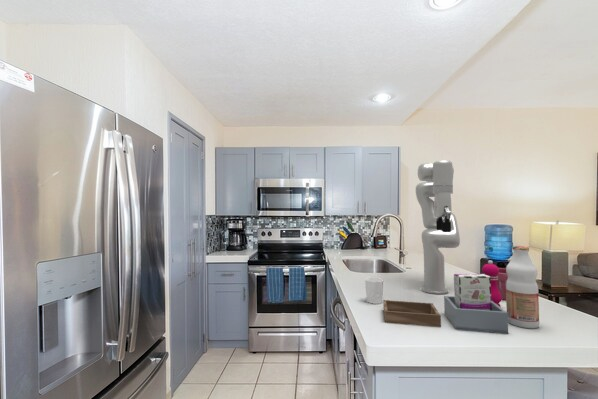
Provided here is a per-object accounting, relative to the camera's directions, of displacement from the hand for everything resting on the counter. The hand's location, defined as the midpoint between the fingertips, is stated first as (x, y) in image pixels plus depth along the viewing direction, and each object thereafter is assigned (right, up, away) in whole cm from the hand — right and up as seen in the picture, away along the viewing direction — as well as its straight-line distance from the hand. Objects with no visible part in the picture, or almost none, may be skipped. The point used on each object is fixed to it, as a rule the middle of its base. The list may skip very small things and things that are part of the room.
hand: (443, 230), depth 123 cm
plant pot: (+36, -33, +14) cm, 51 cm away
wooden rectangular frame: (-18, -32, -11) cm, 38 cm away
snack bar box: (+3, -31, -15) cm, 35 cm away
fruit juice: (+20, -32, -17) cm, 42 cm away
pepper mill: (+21, -33, +1) cm, 39 cm away
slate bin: (+3, -32, -16) cm, 36 cm away
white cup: (-27, -33, +9) cm, 44 cm away
